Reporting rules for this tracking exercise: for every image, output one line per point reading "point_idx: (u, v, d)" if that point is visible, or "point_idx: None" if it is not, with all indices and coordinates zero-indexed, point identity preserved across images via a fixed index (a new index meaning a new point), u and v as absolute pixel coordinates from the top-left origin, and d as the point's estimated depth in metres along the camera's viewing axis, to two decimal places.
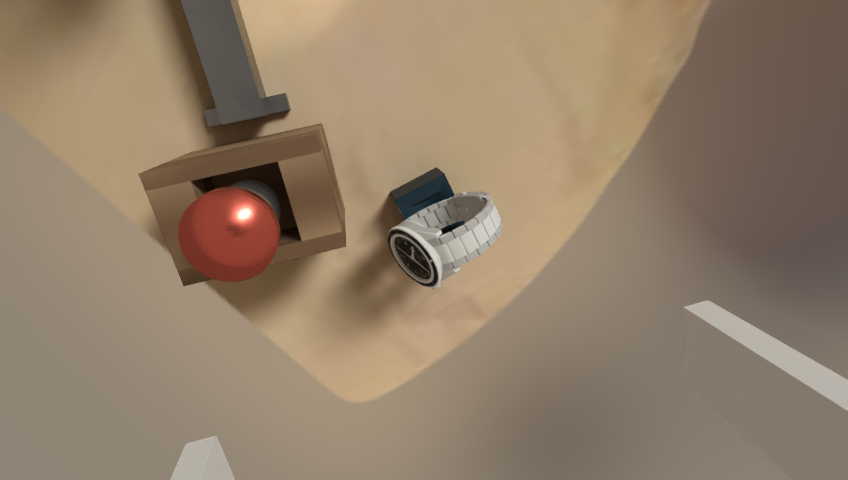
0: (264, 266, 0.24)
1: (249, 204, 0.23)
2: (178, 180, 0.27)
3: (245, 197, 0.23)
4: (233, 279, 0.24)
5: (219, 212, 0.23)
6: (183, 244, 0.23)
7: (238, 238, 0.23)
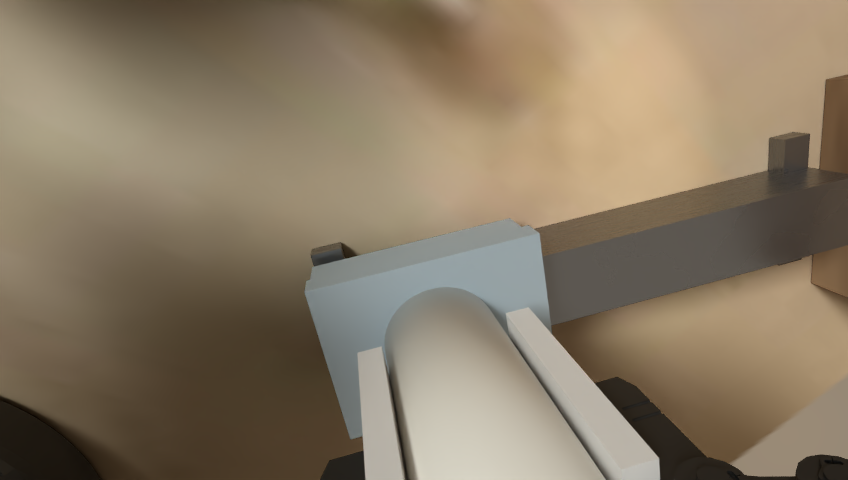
0: None
1: None
2: None
3: None
4: None
5: None
6: None
7: None
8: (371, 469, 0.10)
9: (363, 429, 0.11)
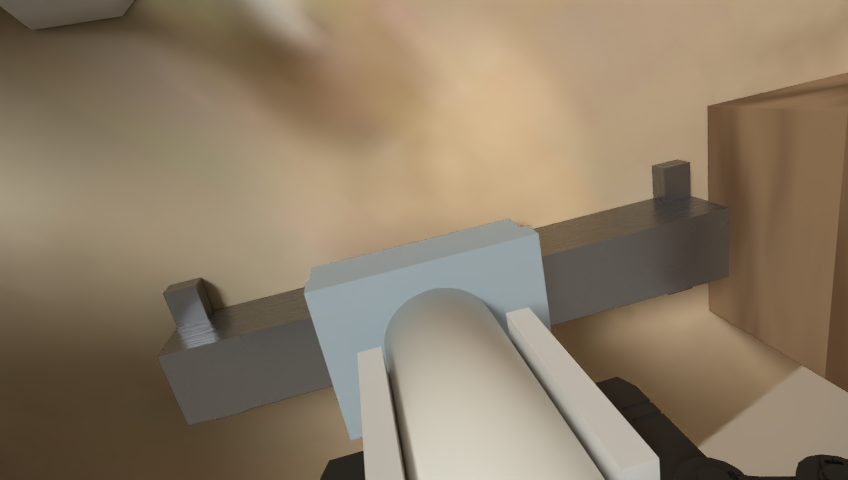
0: None
1: None
2: None
3: None
4: None
5: None
6: None
7: None
8: (371, 469, 0.10)
9: (363, 429, 0.11)
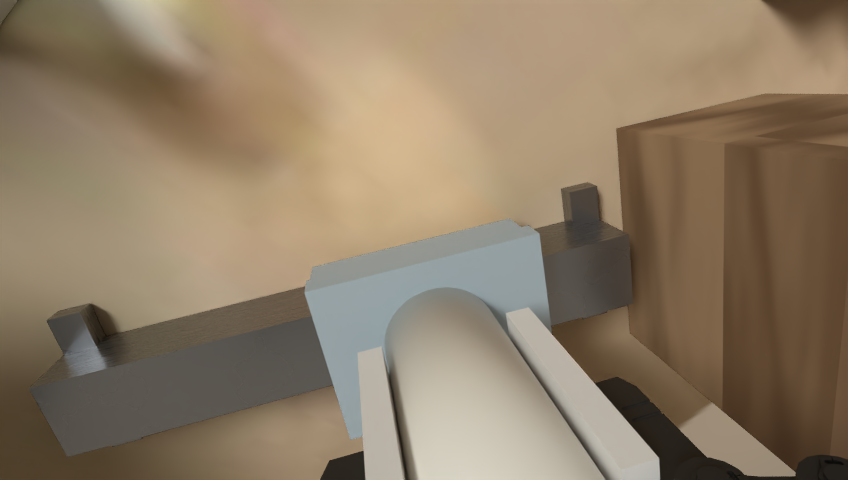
0: None
1: None
2: None
3: None
4: None
5: None
6: None
7: None
8: (371, 469, 0.10)
9: (363, 429, 0.11)
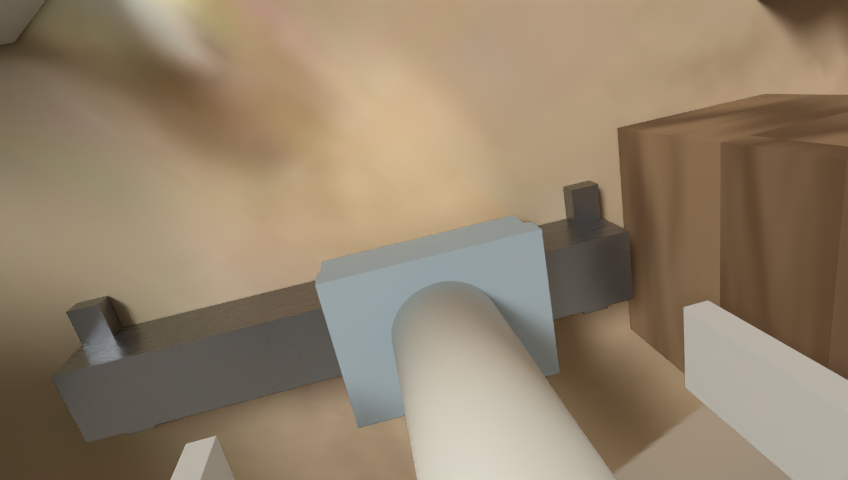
0: None
1: None
2: None
3: None
4: None
5: None
6: None
7: None
8: None
9: None
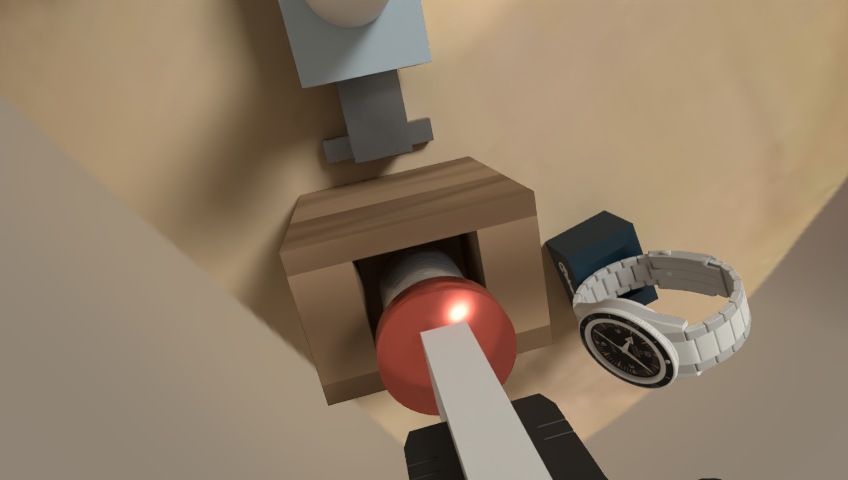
0: None
1: (484, 307, 0.15)
2: (335, 260, 0.18)
3: (480, 297, 0.15)
4: None
5: (441, 320, 0.15)
6: (384, 367, 0.15)
7: None
8: (460, 436, 0.10)
9: (442, 401, 0.12)
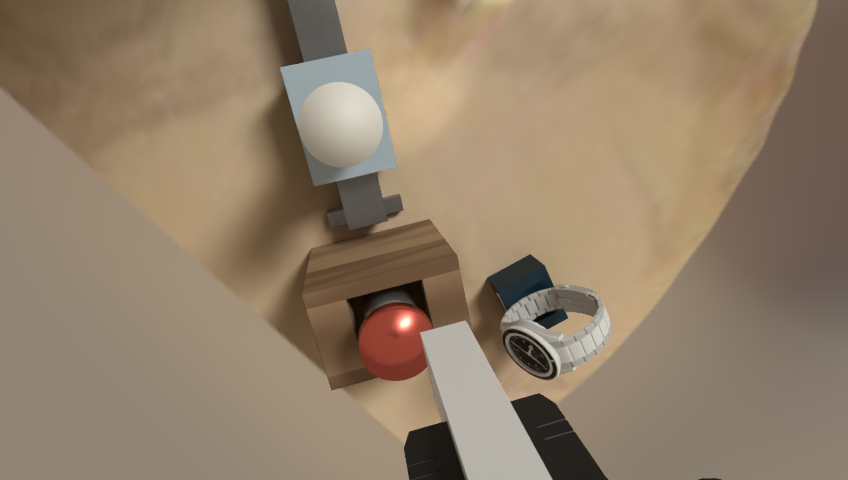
0: (424, 367, 0.29)
1: (416, 319, 0.28)
2: (335, 299, 0.30)
3: (414, 314, 0.28)
4: (398, 379, 0.29)
5: (393, 326, 0.28)
6: (362, 352, 0.28)
7: (405, 346, 0.28)
8: (460, 436, 0.10)
9: (442, 400, 0.12)
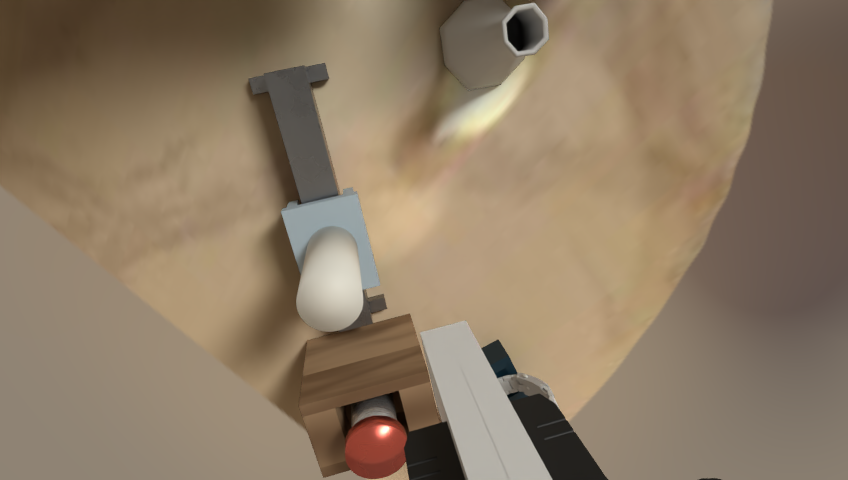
0: (398, 468, 0.35)
1: (392, 432, 0.34)
2: (326, 408, 0.36)
3: (390, 428, 0.34)
4: (377, 477, 0.35)
5: (372, 438, 0.34)
6: (347, 459, 0.34)
7: (383, 452, 0.35)
8: (460, 436, 0.10)
9: (442, 401, 0.12)
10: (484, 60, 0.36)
